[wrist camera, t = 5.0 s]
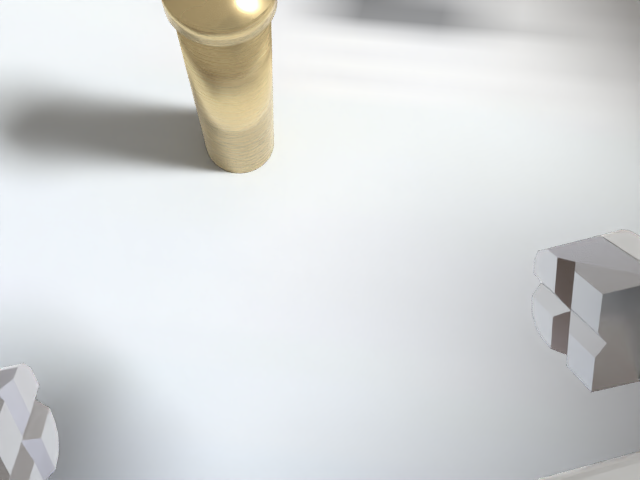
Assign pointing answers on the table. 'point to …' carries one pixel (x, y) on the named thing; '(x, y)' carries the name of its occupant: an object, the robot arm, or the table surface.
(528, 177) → the table surface
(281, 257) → the table surface
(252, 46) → the hinge pin
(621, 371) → the robot arm
